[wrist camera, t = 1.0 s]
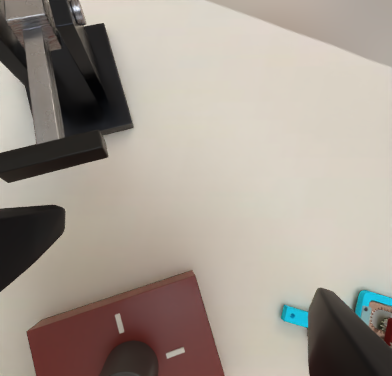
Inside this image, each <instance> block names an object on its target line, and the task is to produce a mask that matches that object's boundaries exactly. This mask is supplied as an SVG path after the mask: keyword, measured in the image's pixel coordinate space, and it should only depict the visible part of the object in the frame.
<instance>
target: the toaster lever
mask: <svg viewBox="0 0 392 376" xmlns="http://www.w3.org/2000/svg"><path fill="white" fill-rule="evenodd" d="M4 10H5V21H6V23H7V24H8V26H9V27H10V29H11V30H12V32H13V33H14V35H15V36H16V38H17V39H18V41H19V43H20V44H21V46H22V47H23V49H24V50H25V55H26V63H27V71H28V80H29V88H30V96H31V104H32V112H33V120H34V128H35V136H36V144H35V145H31V146H27V147H23V148H19V149H15V150H11V151H6V152H2V153H0V178H1V179H3V180H4V181H6V182H7V183H10V182H14V181H18V180H22V179H26V178H30V177H34V176H38V175H42V174H45V173H49V172H53V171H57V170H61V169H65V168H69V167H73V166H77V165H80V164H84V163H88V162H92V161H96V160H100V159H104V158H107V157H108V152H107V148H106V143H105V140H104V138H103V136H102V134H101V132H100V131H99V130H94V131H89V132H85V133H81V134H77V135H73V136H69V137H65V134H64V128H63V122H62V116H61V110H60V104H59V98H58V92H57V86H56V80H55V75H54V69H53V63H52V57H51V51H53V50H59V49H62V44H61V38H60V34H59V32H58V30H57V29H56V27H55V23H54V19H53V15H52V12H51V8H50V4H49V2H48V0H4Z"/></svg>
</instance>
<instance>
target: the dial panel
mask: <svg viewBox="0 0 392 376" xmlns="http://www.w3.org/2000/svg"><path fill="white" fill-rule="evenodd" d="M27 336H28V340H29V345H30V349H31V354H32V358H33V362H34V367H35V371H36V376H99V375H100V373H101V371H102V368H103V366H104V364H105V362H106V359H107V357H108V355H109V354H110V353H111V351H112V350H113V349H114V348H115V347H117V346H118V345H120V344H121V343H124V342H127V341H140V342H143V343H145V344H147V345H148V346H149V347H151V348H152V350H153V351H154V352H155V354H156V356H157V359H158V366H159V368H158V376H224V372H223V369H222V366H221V362H220V359H219V355H218V352H217V348H216V345H215V342H214V338H213V335H212V331H211V328H210V325H209V321H208V318H207V314H206V311H205V307H204V304H203V301H202V297H201V294H200V290H199V287H198V283H197V280H196V277H195V274H194V273H193V271H192V270H191V271H188V272H185V273H182V274H179V275H176V276H173V277H170V278H167V279H164V280H161V281H158V282H155V283H152V284H149V285H146V286H143V287H140V288H137V289H134V290H131V291H128V292H125V293H122V294H119V295H116V296H113V297H110V298H107V299H104V300H101V301H98V302H94V303H91V304H88V305H85V306H82V307H79V308H76V309H73V310H70V311H67V312H64V313H61V314H58V315H55V316H52V317H49V318H46V319H43V320H41V321H40V322H38V323H37V324H36V325H35V326H33V327H32V328H31V329H29V330H28V331H27Z"/></svg>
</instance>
